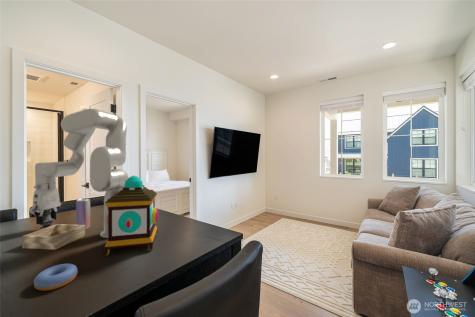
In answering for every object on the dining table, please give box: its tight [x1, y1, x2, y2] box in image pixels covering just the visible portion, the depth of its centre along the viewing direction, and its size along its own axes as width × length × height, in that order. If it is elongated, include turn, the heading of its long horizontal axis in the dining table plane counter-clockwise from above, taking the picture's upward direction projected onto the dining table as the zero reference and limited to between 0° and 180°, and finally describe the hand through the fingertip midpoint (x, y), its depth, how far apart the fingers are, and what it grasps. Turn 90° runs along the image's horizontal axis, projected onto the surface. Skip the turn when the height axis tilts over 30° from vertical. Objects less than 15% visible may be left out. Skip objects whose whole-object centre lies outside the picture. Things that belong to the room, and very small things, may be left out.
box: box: [21, 223, 86, 250], centre depth 90 cm, size 15×15×5 cm
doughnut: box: [33, 263, 79, 292], centre depth 61 cm, size 10×10×5 cm
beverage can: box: [75, 197, 91, 230], centre depth 107 cm, size 6×6×15 cm
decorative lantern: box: [103, 175, 159, 256], centre depth 87 cm, size 20×20×30 cm
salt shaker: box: [39, 209, 55, 230], centre depth 103 cm, size 6×6×12 cm
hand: (46, 221), depth 103 cm, fingers closed on salt shaker, 5 cm apart
